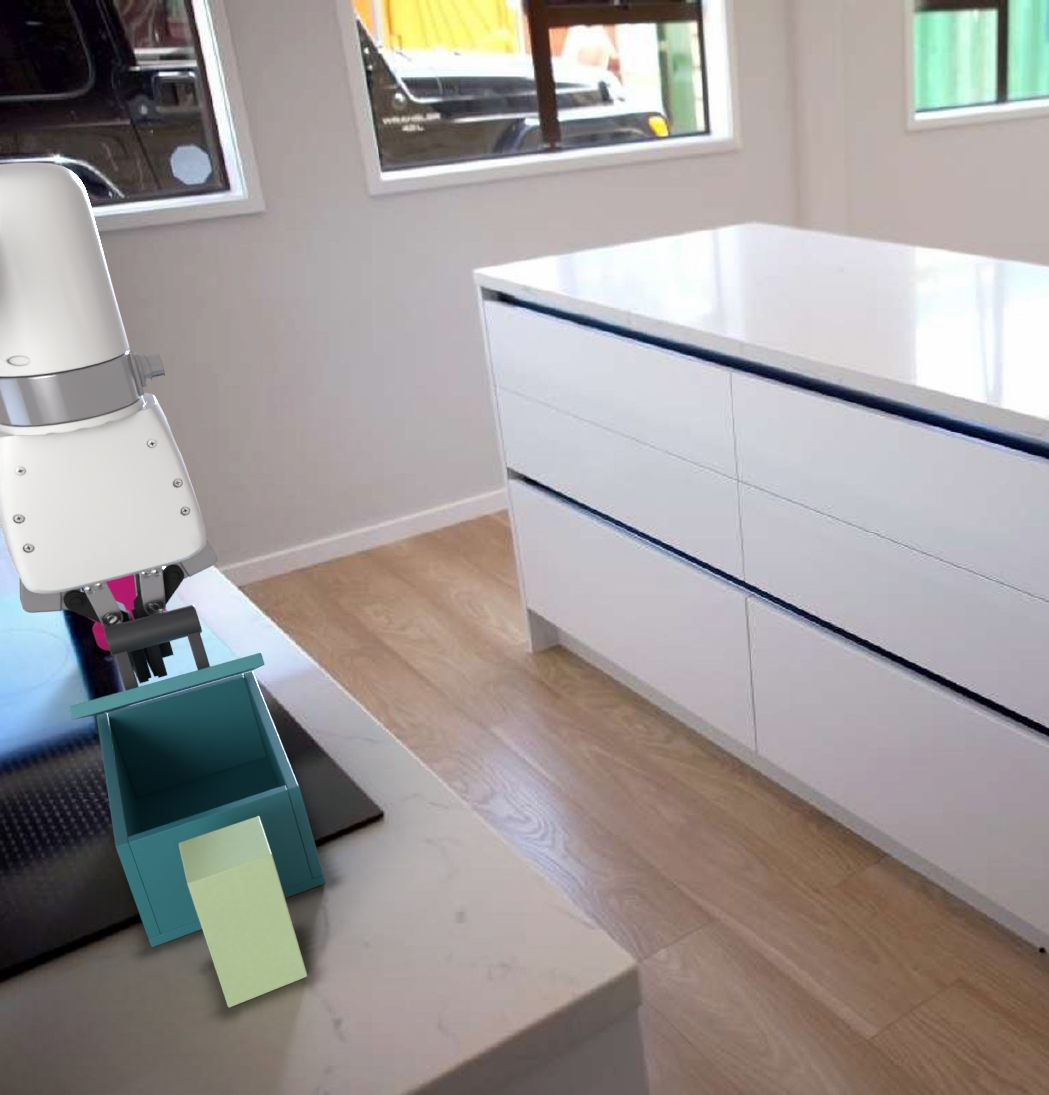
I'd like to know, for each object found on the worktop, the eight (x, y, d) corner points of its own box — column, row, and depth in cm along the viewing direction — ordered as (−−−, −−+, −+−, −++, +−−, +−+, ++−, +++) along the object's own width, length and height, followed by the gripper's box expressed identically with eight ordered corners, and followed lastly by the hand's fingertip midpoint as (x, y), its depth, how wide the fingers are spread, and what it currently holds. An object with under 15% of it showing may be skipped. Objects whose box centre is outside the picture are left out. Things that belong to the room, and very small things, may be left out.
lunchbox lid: (264, 665, 76) (241, 589, 76) (72, 720, 71) (47, 639, 71) (253, 670, 92) (234, 608, 92) (96, 715, 87) (76, 649, 87)
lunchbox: (325, 883, 81) (299, 786, 78) (151, 948, 77) (115, 847, 74) (277, 757, 96) (252, 670, 92) (127, 805, 91) (96, 715, 88)
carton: (307, 976, 74) (272, 854, 70) (228, 1008, 72) (187, 884, 68) (293, 934, 77) (259, 815, 73) (217, 963, 75) (178, 842, 71)
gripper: (192, 353, 78) (258, 615, 85) (-94, 404, 70) (7, 687, 77) (219, 378, 72) (287, 656, 80) (-88, 435, 64) (20, 738, 72)
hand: (149, 671), depth 78 cm, fingers closed
